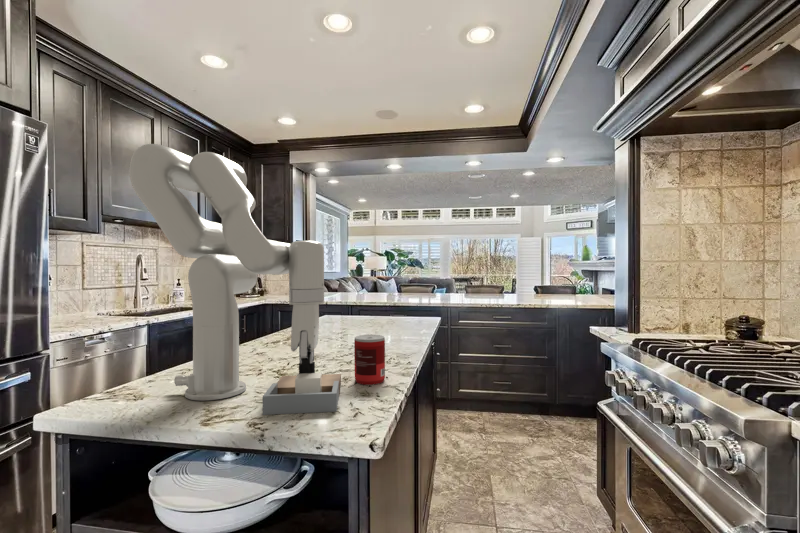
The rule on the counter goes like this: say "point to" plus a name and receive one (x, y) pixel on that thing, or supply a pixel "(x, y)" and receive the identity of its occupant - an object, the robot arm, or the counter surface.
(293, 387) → the board
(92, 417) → the counter surface
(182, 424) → the counter surface
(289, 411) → the box
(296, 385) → the tile block
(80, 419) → the counter surface
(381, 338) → the canned food
